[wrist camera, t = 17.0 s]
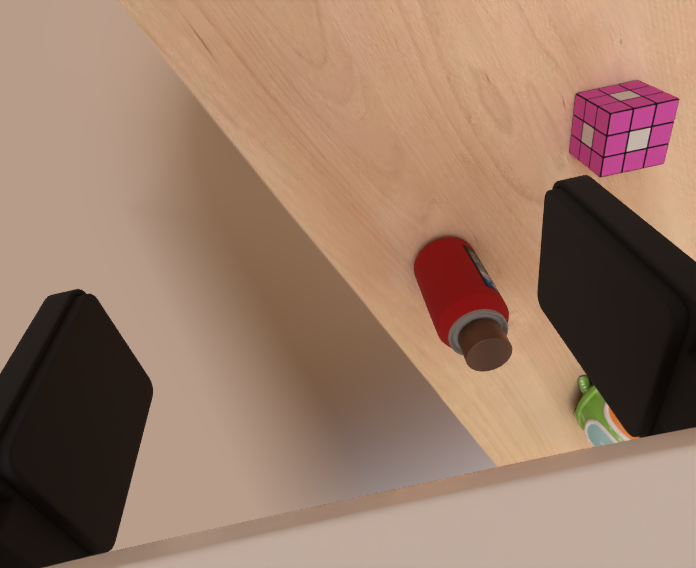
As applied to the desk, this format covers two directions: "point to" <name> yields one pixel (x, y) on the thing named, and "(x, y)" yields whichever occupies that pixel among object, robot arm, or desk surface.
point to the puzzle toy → (622, 127)
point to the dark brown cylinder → (484, 345)
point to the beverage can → (457, 289)
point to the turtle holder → (598, 417)
